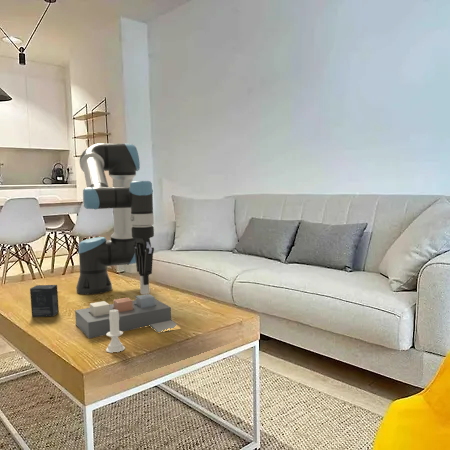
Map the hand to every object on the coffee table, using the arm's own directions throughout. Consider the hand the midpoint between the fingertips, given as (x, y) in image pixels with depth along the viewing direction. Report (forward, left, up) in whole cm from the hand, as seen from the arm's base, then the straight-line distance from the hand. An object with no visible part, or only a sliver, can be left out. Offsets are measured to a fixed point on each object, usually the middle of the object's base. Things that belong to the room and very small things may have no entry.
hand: (145, 293), depth 153 cm
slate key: (0, 0, -5) cm, 5 cm away
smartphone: (+9, +2, -10) cm, 14 cm away
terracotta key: (0, -8, -5) cm, 9 cm away
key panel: (0, -8, -9) cm, 12 cm away
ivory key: (0, -16, -5) cm, 17 cm away
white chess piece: (+21, -18, -9) cm, 30 cm away
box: (-27, -28, -9) cm, 40 cm away
